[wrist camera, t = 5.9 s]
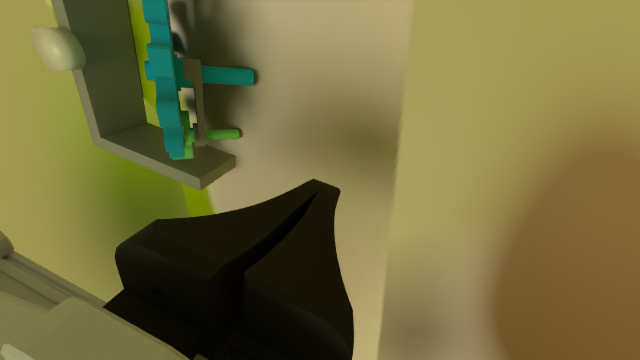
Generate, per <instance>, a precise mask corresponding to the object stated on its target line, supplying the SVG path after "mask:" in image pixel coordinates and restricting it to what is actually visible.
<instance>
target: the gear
mask: <svg viewBox="0 0 640 360" xmlns="http://www.w3.org/2000/svg"><path fill="white" fill-rule="evenodd" d="M142 5H143V12H144V17H145V21H146V23H148V24H149V29H150V36H151V44H149V43H147V52H148V58H149V61H145V72H146V77H147V80H153V81H155V84H156V91H157V99H156V108H157V115H158V119H159V123H160V127H163V132H164V144H165V151H166V152H167V153H169V156H170V159H171V158H173V160H178V159H193V149H192V142H195V147H198V146H206V140H218V139H239V130H238V129H212V130H205V119H204V103H203V86H202V83H210V84H229V85H249V86H253V84H254V73H253V70H252V69H243V68H230V67H218V66H205V65H201V63H200V59H188V58H177V54H174V47H173V39H172V33H171V26H170V16H169V8H168V1H167V0H142ZM181 87H183V88H194V92H195V104H196V116H197V123H193V128H190V122H189V113H188V111H181V108H180V101H179V95H178V91H181ZM182 126H183V127H184V136H185V144H184V137H183V129H182Z"/></svg>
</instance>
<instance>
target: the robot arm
mask: <svg viewBox="0 0 640 360" xmlns="http://www.w3.org/2000/svg"><path fill="white" fill-rule="evenodd" d="M339 195H340V189H339V188H337V187H334V186H332V185H329V184H326V183H323V182H321V181H318V180H315V179H312V180H310V181H308V182H306V183H304V184H302V185H300V186H298V187H296V188H294V189H292V190H290V191H288V192H286V193H284V194H282V195H280V196H277V197H275V198H272V199H270V200H267V201H265V202H262V203H259V204H256V205H253V206H249V207H246V208H242V209H238V210H233V211H229V212H224V213H219V214H213V215H207V216H199V217H190V218H175V219H157V220H155V221H154V222H152V223H151V224H149V225H148V226H146V227H145V228H143V229H142V230H140V231H139V232H137V233H136V234H134V235H133V236H131V237H130V238H128V239H127V240H125V241H124V242H122V243H121V244H120V245H119V246H118V247H117V248H116V252H115V261H116V265H117V268H118V271H119V275H120V278H121V281H122V284H123V287H124V289H123V290H122V291H121V292H120V293H119V294H117V295H116V296H115V297H114V298H113V299H111V300H110V301H109V302H108V303H107V302H105V301H103V300H101V299H99V298H98V297H96V296H94V295H92V294H90V293H89V292H87V291H85V290H83V289H82V288H80V287H78V286H76V285H74V284H73V283H71V282H69V281H67V280H65V279H63V278H62V277H60V276H58V275H56V274H55V273H53V272H51V271H49V270H48V269H46V268H44V267H42V266H40V265H39V264H37V263H35V262H33V261H31V260H30V259H28V258H26V257H24V256H23V255H21V254H19V253H17V252H15V251H14V247H13V245H12V243H11V242H10V240H9V239H8V237H7V236H6V235H5V234H4V233H2V232H1V231H0V360H352V356H353V346H354V323H353V309H352V306H351V304H350V301H349V299H348V296H347V293H346V290H345V287H344V283H343V280H342V276H341V272H340V268H339V263H338V259H337V253H336V246H335V235H334V216H335V208H336V205H337V202H338V198H339Z"/></svg>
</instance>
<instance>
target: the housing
mask: <svg viewBox="0 0 640 360" xmlns="http://www.w3.org/2000/svg"><path fill="white" fill-rule="evenodd" d="M51 2H52V5H53V9H54V12H55V16H56V19H57V22H58V26H59V27H56V28H55V27H36V28H34V29H33V32H32V40H33V44H34V47H35V49H36V51H37V53H38V55H39V56H40V58H41V59H42V61H43V62H44V63H45V64H46V65H47V66H48V67H49V68H50V69H52V70H53V71H56V72H63V71H72V73H73V76H74V79H75V83H76V86H77V90H78V93H79V96H80V99H81V103H82V107H83V110H84V113H85V117H86V119H87V123H88V127H89V130H90V133H91V137H92V140H93V144H94V145H95V146H97V147H100V148H102V149H104V150H107V151H109V152H111V153H114V154H116V155H118V156H121V157H123V158H125V159H128V160H130V161H133V162H135V163H137V164H139V165H142V166H144V167H147V168H149V169H151V170H154V171H156V172H158V173H161V174H163V175H166V176H168V177H170V178H173V179H175V180H177V181H179V182H182V183H184V184H186V185H189V186H191V187H194V188H196V189H198V190H202V189H203V188H205V187H206V186H208V185H209V184H211V183H212V182H214V181H215V180H217V179H218V178H219V177H221V176H222V175H224V174H225V173H227V172H228V171H230V170H231V169H233V168H234V167H235V156H233V155H230V154H228V153H225V152H222V151H220V150H217V149H214V148H212V147H209V146H207V145H206V146H198V147H195V142H192V149H193V159H178V160H173V158H171V159H170V156H169V153H167V152H166V151H165V144H164V132H163V129H162V128H160V127H157V126H154V125H152V124H149V123H147V118H146V113H145V106H144V100H143V94H142V88H141V82H140V76H139V70H138V64H137V58H136V52H135V46H134V40H133V34H132V28H131V22H130V16H129V10H128V4H127V0H51ZM184 144H185V137H184Z"/></svg>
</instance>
